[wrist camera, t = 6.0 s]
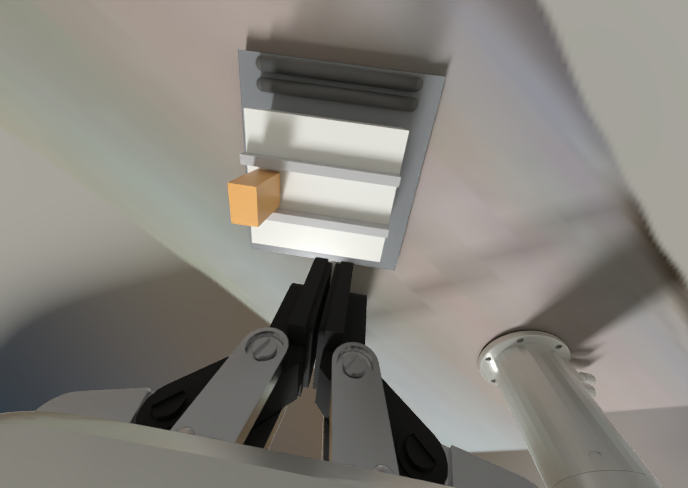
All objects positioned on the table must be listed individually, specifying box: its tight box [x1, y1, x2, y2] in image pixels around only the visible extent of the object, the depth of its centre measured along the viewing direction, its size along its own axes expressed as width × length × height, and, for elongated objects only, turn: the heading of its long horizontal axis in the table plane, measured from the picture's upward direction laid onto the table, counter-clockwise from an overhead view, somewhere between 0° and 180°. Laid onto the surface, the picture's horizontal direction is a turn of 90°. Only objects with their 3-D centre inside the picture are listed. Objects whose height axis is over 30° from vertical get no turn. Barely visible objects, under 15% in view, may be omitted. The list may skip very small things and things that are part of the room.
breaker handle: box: [228, 169, 280, 227], centre depth 20 cm, size 2×3×5 cm, turn 173°
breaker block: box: [238, 49, 445, 271], centre depth 25 cm, size 19×21×9 cm
